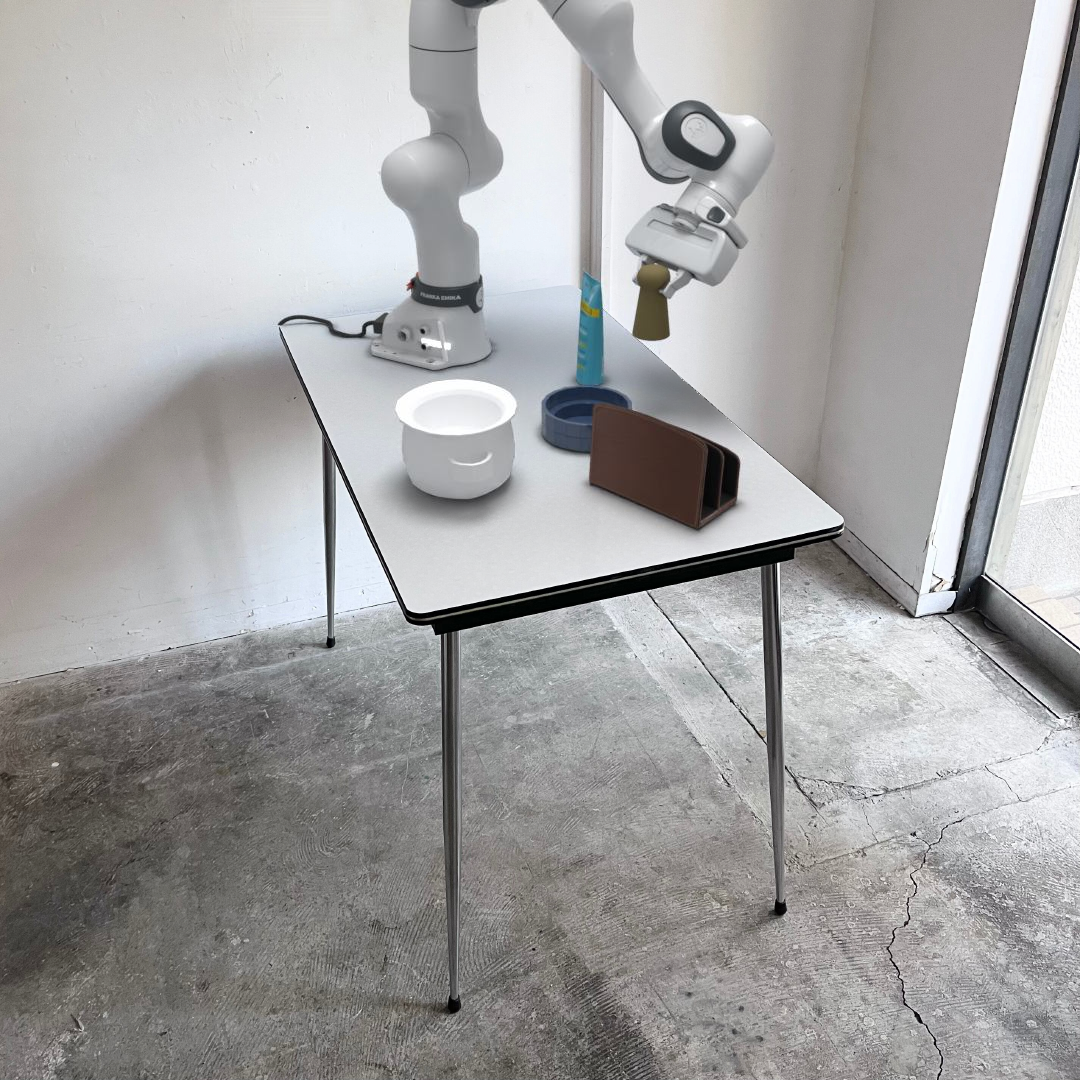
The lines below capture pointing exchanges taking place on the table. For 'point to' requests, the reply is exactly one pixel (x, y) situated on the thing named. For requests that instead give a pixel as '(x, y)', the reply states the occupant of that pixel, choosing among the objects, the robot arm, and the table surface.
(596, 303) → the tube
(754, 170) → the robot arm
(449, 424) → the pot
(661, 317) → the cork
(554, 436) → the bowl
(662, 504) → the letter holder
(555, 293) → the table surface
